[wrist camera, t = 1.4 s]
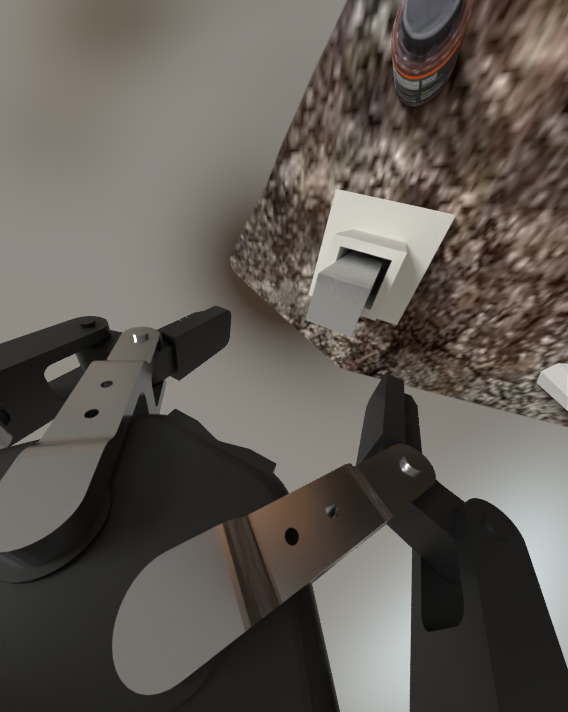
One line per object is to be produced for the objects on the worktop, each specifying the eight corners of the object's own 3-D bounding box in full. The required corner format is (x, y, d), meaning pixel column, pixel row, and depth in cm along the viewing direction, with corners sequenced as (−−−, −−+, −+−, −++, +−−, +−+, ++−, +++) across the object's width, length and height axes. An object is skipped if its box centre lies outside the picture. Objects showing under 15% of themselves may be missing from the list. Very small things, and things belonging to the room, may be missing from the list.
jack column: (387, 252, 34) (370, 289, 16) (374, 282, 36) (349, 341, 19) (360, 245, 34) (318, 273, 17) (350, 274, 37) (304, 324, 20)
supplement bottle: (434, 10, 24) (453, -115, 15) (469, 59, 24) (507, -33, 15) (383, 81, 27) (373, 16, 18) (414, 123, 28) (419, 78, 19)
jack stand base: (453, 215, 30) (486, 213, 18) (397, 322, 39) (394, 367, 28) (338, 190, 34) (303, 175, 22) (311, 292, 43) (276, 321, 31)
